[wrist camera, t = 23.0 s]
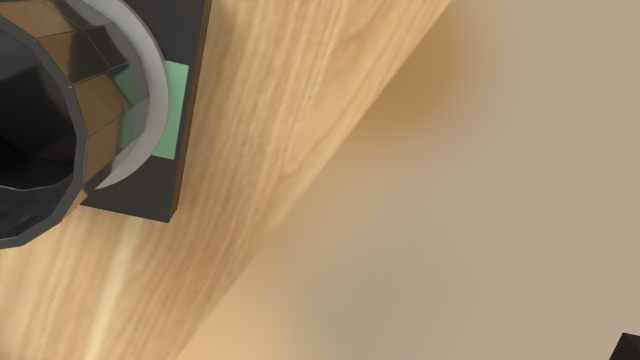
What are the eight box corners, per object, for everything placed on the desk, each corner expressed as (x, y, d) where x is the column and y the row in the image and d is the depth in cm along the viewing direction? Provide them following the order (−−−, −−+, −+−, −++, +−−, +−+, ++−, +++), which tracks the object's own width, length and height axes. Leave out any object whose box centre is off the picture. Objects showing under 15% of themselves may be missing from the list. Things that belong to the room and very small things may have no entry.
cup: (163, 17, 31) (99, 31, 21) (138, 194, 34) (74, 273, 25) (-39, -33, 30) (-199, -40, 20) (-43, 155, 33) (-181, 223, 24)
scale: (214, -12, 33) (204, -11, 30) (177, 208, 38) (165, 228, 35) (-40, -75, 32) (-77, -82, 29) (-45, 162, 37) (-77, 178, 34)
